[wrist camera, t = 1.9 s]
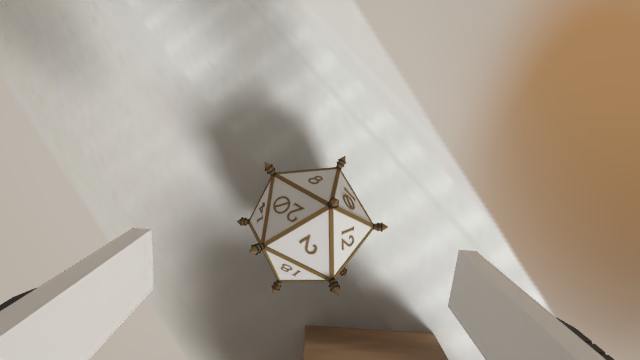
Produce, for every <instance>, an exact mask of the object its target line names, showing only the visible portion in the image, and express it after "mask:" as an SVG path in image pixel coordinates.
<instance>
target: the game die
mask: <svg viewBox="0 0 640 360" xmlns="http://www.w3.org/2000/svg"><path fill="white" fill-rule="evenodd" d="M338 160H339V161H338V162H337V167H333V168H322V169H311V170H300V171H289V172H277V173H276V172H275V168H273V165H272V164H271V165H270V164H268V163H266V162H265V171H267V174H268V173H269V174H270V175H271V178H270V180H269V182H268V184H267V186H266V188H265V190H264V192H263V194H262V196H261V198H260V200H259V202H258V204H257V206H256V208H255V210H254V212H253V214H252V216H251V217H250V219H247V218H243V217H242V218H241V219H240V220H238V221H237V222H238V223H239V224H240V225H247V224H249V226H250V228H251V229H252V231H253V233H254V235H255V237H256V239H257V241H258V244H255V245H252V247H251V250H250V253H254V254H256V255H257V254H258V253H261V251H263V253H264V255H265V257H266V259H267V261H268V263H269V265H270V266H271V268H272V270H273V272H274V274H275V276H276V278H277V281H276V282H274V285H273V286H272V289H273V293H274V292H276V291H278V290H280V287H281V283H282V282H329V283H330V285H329V287H330V288H331V290H330V291H333V292H334V293H335V294H337V295H338V293H339V289H340V286H339V285H338V282H337V281H335V279H336V277H337V276H338V275H339V273H340V274H341V275H344V276H346V272H347V269H345V266H346V264H347V263H348V262H349V260H350V259H351V258H352V256H353V255H354V254H355V252H356V251H357V250H358V249H359V247H360V246H361V245H362V243H363V242H364V241H365V239H366V238H367V237H368V235H369V234H370V233H371V232H372V230H373V229H375V230H377V231H378V230H379V231H381V232H382V231H383V230H384V229H386V228H388V226H386V225H384V224H382V223H377V224H373V223H372V221H371V219H370V218H369V216H368V214H367V213H366V211H365V209H364V208H363V206H362V204H361V203H360V201H359V199H358V198H357V196H356V194H355V193H354V191H353V189H352V188H351V186H350V184H349V183H348V181H347V179H346V178H345V176H344V174H343V173H342V171H341V168H342V167H344V164H346V162H345V156H344V157H342V158H341V159H338Z"/></svg>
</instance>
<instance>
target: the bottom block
mask: <svg viewBox="0 0 640 360" xmlns="http://www.w3.org/2000/svg"><path fill="white" fill-rule="evenodd" d="M303 360H448V359H447V357H446V355H445V353H444V351H443V350H442V348H441V346H440V344H439V343H438V341H437V339H436V337H435V335H434V334H433V333H417V332H401V331H384V330H368V329H352V328H336V327H320V326H306V327H305V339H304V350H303Z"/></svg>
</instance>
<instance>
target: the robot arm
mask: <svg viewBox="0 0 640 360" xmlns="http://www.w3.org/2000/svg"><path fill="white" fill-rule="evenodd" d="M153 289H154V280H153V254H152V229H139V228H132V229H131V230H129V231H127V232H126V233H124V234H123V235H121V236H119V237H118V238H116V239H115V240H113V241H111V242H110V243H108V244H107V245H105V246H103V247H102V248H100V249H99V250H97V251H96V252H94V253H92V254H91V255H89V256H88V257H86V258H84V259H83V260H81V261H80V262H78V263H76V264H75V265H73V266H72V267H70V268H68V269H67V270H65V271H64V272H62V273H60V274H59V275H57V276H56V277H54V278H52V279H51V280H49V281H48V282H46V283H45V284H43V285H41V286H40V287H38V288H35V289H32V290H30V291H27V292H25V293H22V294H20V295H18V296H15V297H13V298H11V299H9V300H8V301H6V302H5V303H3V304H1V305H0V360H89V359H90V357H92V355H93V354H94V353H95V352H96V351H97V350H98V349H99V348H100V347H101V346H102V344H103V343H104V342H105V341H106V340H107V339H108V338H109V337H110V336H111V335H112V334H113V333H114V331H115V330H116V329H117V328H118V327H119V326H120V325H121V324H122V323H123V321H125V320H126V318H127V317H128V316H129V315H130V314H131V313H132V312H133V311H134V310H135V309H136V308H137V306H138V305H139V304H140V303H141V302H142V301H143V300H144V299H145V298H146V297H147V296H148V294H149V293H150V292H151V291H152V290H153ZM448 307H449V308H450V310H451V311H452V312H453V314H454V315H455V317H456V318H457V320H458V321H459V322H460V324H461V325H462V327H463V328H464V329H465V331H466V332H467V334H468V335H469V337H470V338H471V339H472V341H473V342H474V344H475V345H476V346H477V348H478V349H479V351H480V352H481V354H482V355H483V356H484V358H485V359H486V360H614V359H613V358H612V357H610V356H609V355H606V354H605V352H604V351H603V350H602V349H600V348H599V347H598V346H597V345H596V344H592V342H591V340H589V339H588V338H587V337H586V336H584V335H583V334H582V333H581V332H579V331H578V330H577V329H576V328H574V327H572V326H571V325H569V324H567V323H565V322H564V321H562V320H560V319H558V318H556V317H554V316H553V315H552V314H551V313H549V312H548V311H547V310H546V309H545V308H544V307H542V306H541V305H540V304H539V303H538V302H536V301H535V300H534V299H533V298H532V297H530V296H529V295H528V294H527V293H526V292H524V291H523V290H522V289H521V288H520V287H518V286H517V285H516V284H515V283H514V282H512V281H511V280H510V279H509V278H508V277H506V276H505V275H504V274H503V273H502V272H500V271H499V270H498V269H497V268H496V267H494V266H493V265H492V264H491V263H490V262H488V261H487V260H486V259H485V258H484V257H483V256H481V255H480V254H479V253H478V252H477V251H466V250H459V252H458V258H457V263H456V268H455V273H454V278H453V284H452V289H451V294H450V299H449V304H448Z"/></svg>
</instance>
